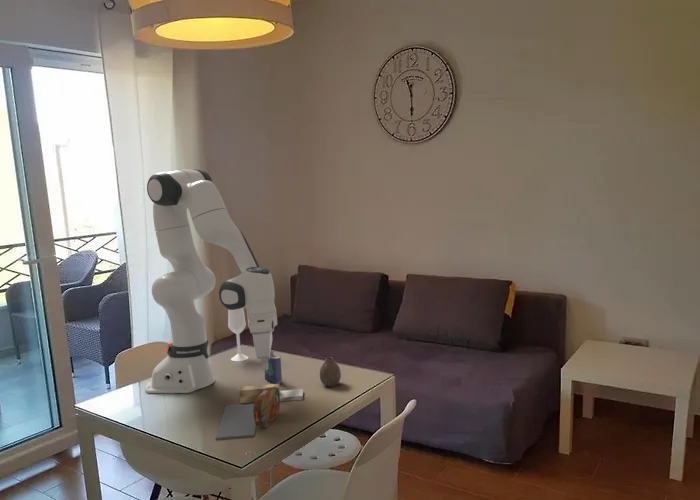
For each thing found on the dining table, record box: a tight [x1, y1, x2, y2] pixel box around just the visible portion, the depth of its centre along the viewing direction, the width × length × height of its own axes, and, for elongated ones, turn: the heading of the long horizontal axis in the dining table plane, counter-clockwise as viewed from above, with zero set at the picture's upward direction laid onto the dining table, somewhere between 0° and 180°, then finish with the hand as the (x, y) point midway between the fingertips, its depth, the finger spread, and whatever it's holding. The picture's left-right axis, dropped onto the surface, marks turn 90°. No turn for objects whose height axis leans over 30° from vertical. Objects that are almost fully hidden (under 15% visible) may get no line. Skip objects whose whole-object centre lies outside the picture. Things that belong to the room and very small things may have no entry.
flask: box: [264, 349, 283, 385], centre depth 197 cm, size 9×3×11 cm, turn 37°
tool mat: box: [215, 403, 257, 441], centre depth 165 cm, size 10×22×1 cm, turn 5°
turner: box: [239, 383, 304, 404], centre depth 182 cm, size 19×6×4 cm, turn 95°
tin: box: [253, 387, 281, 428], centre depth 164 cm, size 15×3×8 cm, turn 168°
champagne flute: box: [227, 308, 249, 362], centre depth 224 cm, size 7×7×24 cm
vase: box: [319, 357, 342, 388], centre depth 191 cm, size 7×7×9 cm
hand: (266, 364), depth 180 cm, fingers open, 8 cm apart
